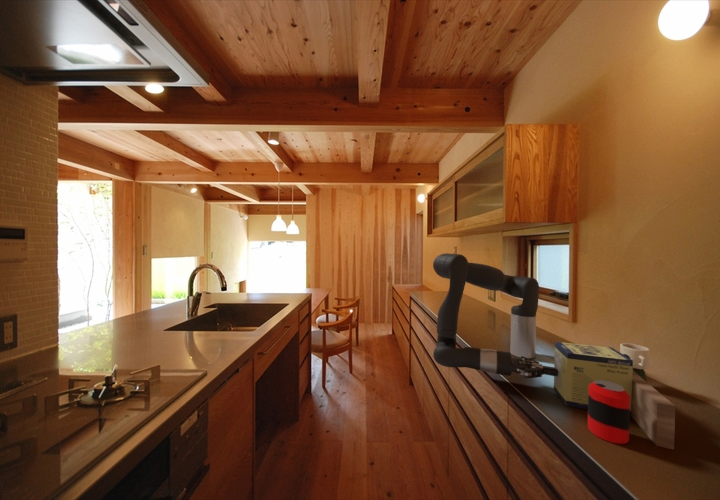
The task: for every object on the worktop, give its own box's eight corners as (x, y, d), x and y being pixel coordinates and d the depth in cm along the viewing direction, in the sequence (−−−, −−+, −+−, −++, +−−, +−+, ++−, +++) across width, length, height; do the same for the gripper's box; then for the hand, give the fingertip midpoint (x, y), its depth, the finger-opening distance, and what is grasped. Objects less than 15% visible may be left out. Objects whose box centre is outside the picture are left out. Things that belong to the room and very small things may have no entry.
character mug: (612, 376, 100) (613, 340, 100) (638, 380, 97) (638, 343, 97) (629, 391, 90) (630, 350, 89) (658, 395, 87) (659, 354, 87)
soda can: (579, 424, 72) (580, 378, 72) (607, 423, 72) (608, 377, 72) (607, 445, 64) (609, 393, 64) (638, 444, 65) (639, 393, 65)
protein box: (633, 417, 75) (634, 360, 75) (565, 406, 80) (566, 352, 80) (611, 397, 85) (612, 347, 85) (552, 389, 90) (553, 341, 90)
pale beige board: (611, 393, 88) (611, 361, 88) (623, 395, 87) (624, 363, 87) (656, 445, 64) (657, 402, 64) (674, 449, 63) (675, 405, 63)
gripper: (495, 357, 88) (562, 368, 80) (495, 344, 100) (553, 353, 92) (495, 381, 88) (562, 394, 81) (494, 365, 100) (552, 375, 93)
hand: (557, 372), depth 87 cm, fingers closed
